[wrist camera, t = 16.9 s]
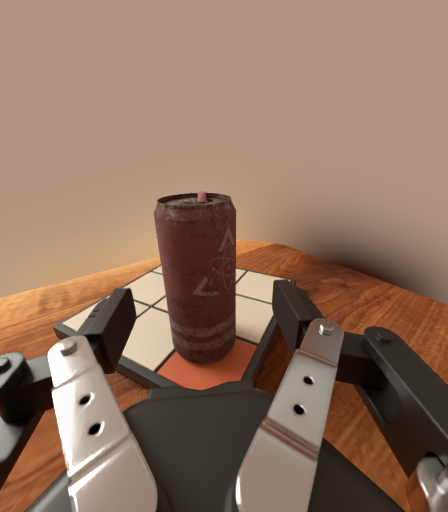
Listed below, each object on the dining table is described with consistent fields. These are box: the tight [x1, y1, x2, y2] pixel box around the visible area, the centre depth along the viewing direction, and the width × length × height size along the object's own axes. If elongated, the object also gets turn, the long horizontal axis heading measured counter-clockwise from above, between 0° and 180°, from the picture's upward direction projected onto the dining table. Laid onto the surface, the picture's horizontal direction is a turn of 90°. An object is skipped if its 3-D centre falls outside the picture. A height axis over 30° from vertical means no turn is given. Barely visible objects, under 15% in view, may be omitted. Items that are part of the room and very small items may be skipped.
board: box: [53, 265, 296, 390], centre depth 29 cm, size 22×22×2 cm
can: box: [154, 192, 236, 364], centre depth 20 cm, size 6×6×14 cm
